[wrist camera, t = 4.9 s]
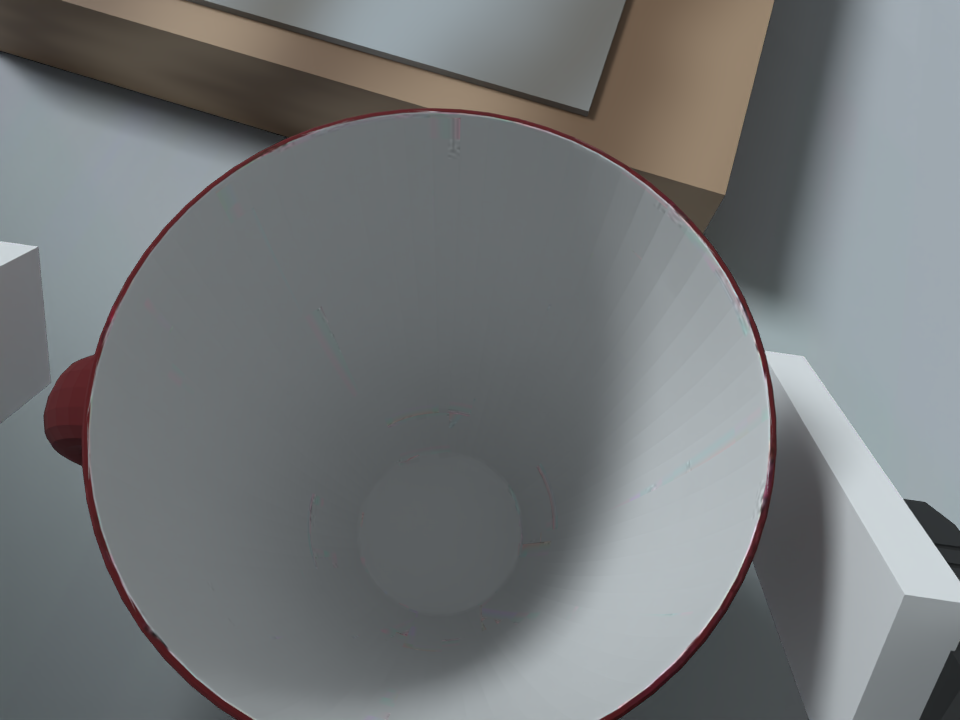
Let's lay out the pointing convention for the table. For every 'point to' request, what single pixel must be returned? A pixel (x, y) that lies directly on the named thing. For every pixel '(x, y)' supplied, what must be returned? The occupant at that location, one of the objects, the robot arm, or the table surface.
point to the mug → (426, 428)
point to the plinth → (436, 67)
